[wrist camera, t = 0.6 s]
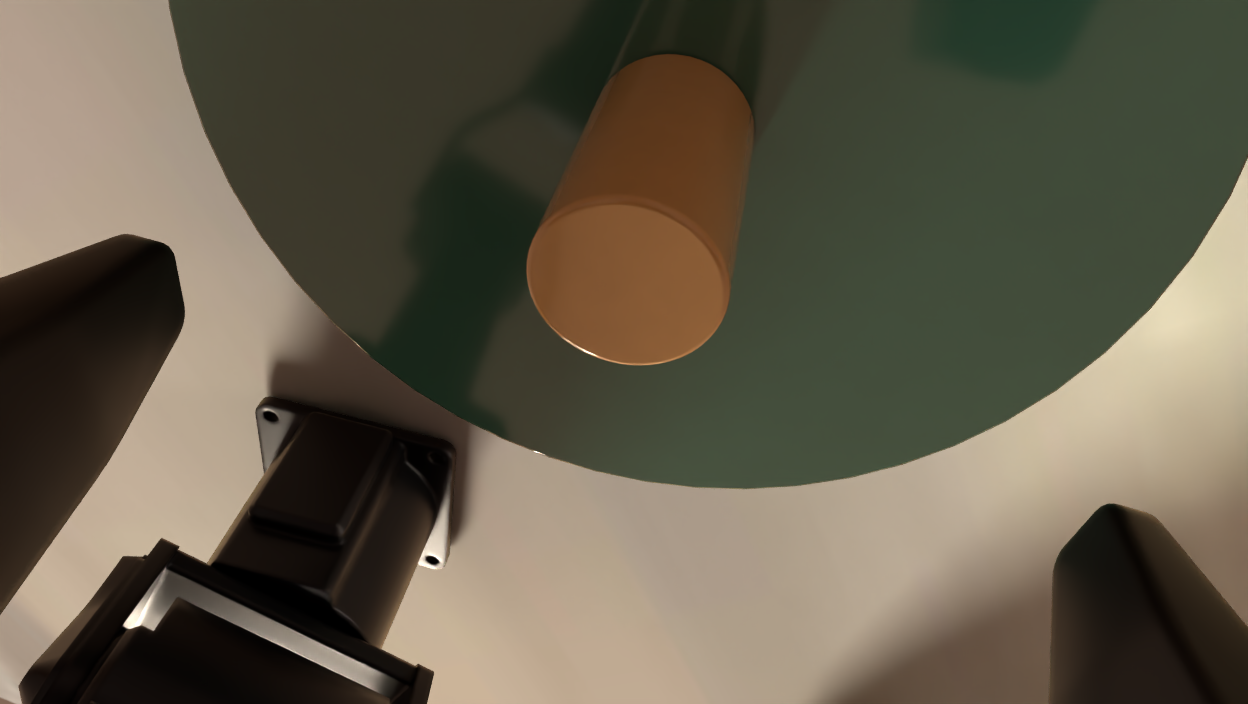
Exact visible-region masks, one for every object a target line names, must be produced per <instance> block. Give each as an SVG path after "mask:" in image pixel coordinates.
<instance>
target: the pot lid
mask: <svg viewBox="0 0 1248 704" xmlns="http://www.w3.org/2000/svg"><path fill="white" fill-rule="evenodd" d="M168 1H169V9H170V14H171V18H172V22H173V27H174V31H175V36H176V40H177V45H178V49H179V54H180V58H181V63H182V67H183V71H184V75H185V78H186V80H187V83H188V86H189V89H190V92H191V95H192V98H193V101H194V103H195V106H196V109H197V112H198V115H199V118H200V121H201V124H202V126H203V129H204V132H205V134H206V136H207V138H208V141H209V143H210V145H211V147H212V149H213V151H214V153H215V155H216V157H217V160H218V162H219V164H220V166H221V168H222V170H223V172H224V174H225V176H226V178H227V181H228V183H229V185H230V187H231V188H232V190H233V192H234V193H235V195H236V197H237V198H238V200H239V202H240V203H241V205H242V207H243V208H244V210H245V211H246V213H247V215H248V216H249V218H250V220H251V221H252V223H253V225H254V226H255V228H256V230H257V231H258V233H259V235H260V236H261V238H262V239H263V240H264V242H265V243H266V244H267V245H268V247H269V248H270V249H271V251H272V252H273V253H274V255H275V256H276V257H277V259H278V260H279V261H280V263H281V264H282V265H283V267H284V268H285V269H286V271H287V272H288V273H289V275H290V276H291V277H292V279H293V280H294V281H295V282H296V283H297V285H298V286H299V287H300V288H301V289H302V290H303V291H304V292H305V293H306V294H307V295H308V297H309V298H310V299H311V300H312V301H313V302H314V303H315V304H316V305H317V306H318V307H319V309H320V310H321V311H322V312H323V313H324V314H325V315H326V316H327V317H328V318H329V319H330V321H331V322H332V323H334V324H335V325H336V326H337V327H338V328H339V329H340V330H341V331H342V332H344V333H345V334H346V335H347V336H348V337H349V338H350V339H351V340H352V341H353V342H355V343H356V344H357V345H358V346H359V347H360V348H361V349H362V350H363V351H365V352H366V353H367V354H368V355H369V356H370V357H371V358H373V359H374V360H375V361H377V362H378V363H379V364H381V365H382V366H383V367H385V368H386V369H387V370H389V371H390V372H391V373H393V374H394V375H395V376H397V377H398V378H399V379H401V380H402V381H403V382H405V383H406V384H407V385H409V386H410V387H411V388H413V389H414V390H416V391H417V392H419V393H421V394H422V395H424V396H425V397H427V398H429V399H430V400H432V401H433V402H435V403H437V404H438V405H440V406H442V407H443V408H445V409H446V410H448V411H450V412H451V413H453V414H454V415H456V416H458V417H460V418H462V419H464V420H466V421H468V422H470V423H472V424H474V425H476V426H478V427H480V428H482V429H484V430H486V431H488V432H490V433H492V434H494V435H496V436H498V437H500V438H502V439H504V440H507V441H509V442H512V443H514V444H517V445H519V446H522V447H524V448H527V449H529V450H532V451H534V452H537V453H539V454H542V455H544V456H547V457H550V458H553V459H556V460H560V461H563V462H566V463H570V464H573V465H576V466H580V467H583V468H586V469H590V470H593V471H596V472H601V473H606V474H611V475H616V476H620V477H625V478H630V479H635V480H640V481H644V482H652V483H661V484H669V485H678V486H686V487H695V488H726V489H756V488H772V487H788V486H801V485H807V484H814V483H820V482H827V481H833V480H840V479H846V478H852V477H855V476H859V475H863V474H867V473H871V472H875V471H879V470H883V469H887V468H891V467H895V466H899V465H903V464H906V463H908V462H911V461H914V460H917V459H919V458H922V457H925V456H928V455H931V454H933V453H936V452H939V451H942V450H945V449H947V448H950V447H953V446H955V445H957V444H960V443H962V442H964V441H966V440H968V439H970V438H972V437H974V436H976V435H978V434H981V433H983V432H985V431H987V430H989V429H991V428H993V427H995V426H997V425H999V424H1002V423H1004V422H1006V421H1007V420H1009V419H1011V418H1012V417H1014V416H1016V415H1017V414H1019V413H1020V412H1022V411H1024V410H1025V409H1027V408H1029V407H1030V406H1032V405H1034V404H1035V403H1037V402H1038V401H1040V400H1042V399H1043V398H1045V397H1047V396H1048V395H1050V394H1052V393H1053V392H1055V391H1056V390H1058V389H1059V388H1060V387H1062V386H1063V385H1064V384H1065V383H1067V382H1068V381H1069V380H1071V379H1072V378H1073V377H1074V376H1076V375H1077V374H1078V373H1080V372H1081V371H1082V370H1084V369H1085V368H1086V367H1087V366H1089V365H1090V364H1091V363H1093V362H1094V361H1095V360H1097V359H1098V358H1099V357H1100V356H1102V355H1103V354H1104V353H1105V352H1106V351H1107V350H1108V349H1110V348H1111V347H1112V346H1113V345H1114V344H1115V343H1116V342H1117V341H1118V340H1119V339H1120V338H1121V337H1122V336H1123V335H1124V334H1125V333H1126V332H1127V331H1128V330H1129V329H1130V328H1131V327H1132V326H1133V325H1134V324H1135V323H1136V322H1137V321H1138V320H1139V319H1140V318H1141V317H1142V316H1144V315H1145V314H1146V313H1147V312H1148V311H1149V310H1150V309H1151V308H1152V306H1153V305H1154V304H1155V303H1156V301H1157V300H1158V299H1159V298H1160V296H1161V295H1162V294H1163V293H1164V292H1165V290H1166V289H1167V288H1168V287H1169V285H1170V284H1171V283H1172V282H1173V280H1174V279H1175V278H1176V277H1177V275H1178V274H1179V273H1180V272H1181V271H1182V269H1183V268H1184V267H1185V266H1186V264H1187V263H1188V262H1189V261H1190V259H1191V258H1192V257H1193V256H1194V254H1195V252H1196V251H1197V249H1198V248H1199V246H1200V244H1201V243H1202V241H1203V240H1204V238H1205V236H1206V235H1207V233H1208V231H1209V230H1210V228H1211V227H1212V225H1213V223H1214V222H1215V220H1216V219H1217V217H1218V215H1219V214H1220V212H1221V211H1222V209H1223V207H1224V206H1225V204H1226V203H1227V201H1228V199H1229V198H1230V196H1231V194H1232V192H1233V189H1234V187H1235V185H1236V183H1237V181H1238V178H1239V176H1240V174H1241V172H1242V170H1243V167H1244V165H1245V163H1246V161H1247V159H1248V0H168Z"/></svg>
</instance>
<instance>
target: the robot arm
mask: <svg viewBox="0 0 1248 704" xmlns="http://www.w3.org/2000/svg"><path fill="white" fill-rule="evenodd" d="M184 317H185V307H184V302H183V296H182V291H181V286H180V281H179V276H178V271H177V266H176V260H175V256H174V253H173V252H172V250H171V249H170V248H169V246H167V245H165V244H164V243H161V242H158V241H154V240H150V239H147V238H143V237H139V236H136V235H130V234H123V235H119V236H115V237H112V238H109V239H107V240H104V241H101V242H98V243H96V244H93V245H90V246H87V247H85V248H82V249H79V250H76V251H74V252H71V253H68V254H65V255H63V256H60V257H57V258H54V259H52V260H49V261H46V262H43V263H41V264H38V265H35V266H32V267H30V268H27V269H24V270H21V271H19V272H16V273H13V274H10V275H8V276H5V277H2V278H0V614H1V613H2V612H3V610H4V609H5V607H6V606H7V605H8V603H9V602H10V600H11V599H12V598H13V596H14V595H15V593H16V592H17V591H18V589H19V588H20V586H21V585H22V584H23V582H24V581H25V579H26V578H27V577H28V575H29V574H30V572H31V571H32V569H33V568H34V567H35V565H36V564H37V562H38V561H39V560H40V558H41V557H42V555H43V554H44V553H45V551H46V550H47V548H48V547H49V546H50V544H51V543H52V541H53V540H54V539H55V537H56V536H57V534H58V533H59V532H60V530H61V529H62V527H63V526H64V524H65V523H66V522H67V520H68V519H69V517H70V516H71V515H72V513H73V512H74V510H75V509H76V508H77V506H78V505H79V503H80V502H81V501H82V499H83V498H84V496H85V495H86V494H87V492H88V491H89V489H90V488H91V487H92V485H93V484H94V482H95V481H96V479H97V478H98V476H99V475H100V473H101V472H102V470H103V469H104V467H105V466H106V465H107V463H108V462H109V460H110V458H111V457H112V455H113V453H114V451H115V450H116V448H117V446H118V445H119V443H120V441H121V440H122V438H123V436H124V434H125V432H126V431H127V429H128V427H129V425H130V423H131V421H132V420H133V418H134V416H135V414H136V412H137V411H138V409H139V407H140V405H141V403H142V401H143V400H144V398H145V396H146V394H147V392H148V391H149V389H150V387H151V385H152V383H153V381H154V380H155V378H156V376H157V374H158V372H159V371H160V369H161V367H162V365H163V363H164V361H165V360H166V358H167V356H168V354H169V352H170V351H171V349H172V347H173V345H174V343H175V341H176V340H177V338H178V336H179V334H180V332H181V329H182V326H183V323H184ZM256 420H257V427H258V434H259V441H260V448H261V455H262V462H263V469H264V475H263V477H262V478H261V480H260V482H259V483H258V485H257V486H256V488H255V489H254V491H253V492H252V494H251V496H250V497H249V499H248V500H247V502H246V503H245V505H244V506H243V508H242V510H241V511H240V513H239V514H238V516H237V517H236V519H235V520H234V522H233V524H232V525H231V527H230V528H229V530H228V531H227V533H226V534H225V536H224V538H223V539H222V541H221V542H220V544H219V545H218V547H217V548H216V550H215V552H214V553H213V555H212V556H211V558H210V559H209V561H208V562H207V564H206V563H204V562H202V561H200V560H198V559H196V558H194V557H192V556H190V555H188V554H186V553H184V552H182V551H180V550H178V549H179V546H177V545H175V544H173V543H171V542H169V541H167V540H165V539H163V538H161V539H160V540H159V542H158V543H157V544H156V546H155V547H154V548H153V550H152V551H151V552H150V554H149V555H148V556H147V555H144V556H143V557H133V556H123V557H122V558H121V560H120V561H119V563H118V564H117V565H116V567H115V568H114V569H113V571H112V572H111V573H110V575H109V576H108V578H107V579H106V580H105V582H104V583H103V584H102V586H101V587H100V588H99V590H98V591H97V592H96V594H95V595H94V596H93V598H92V599H91V600H90V602H89V603H88V604H87V605H86V607H85V608H84V609H83V610H82V611H81V612H80V614H79V615H78V616H77V617H76V618H75V619H74V620H73V621H72V622H71V623H70V625H69V626H68V627H67V628H66V629H65V630H64V631H63V632H62V633H61V634H60V636H59V637H58V638H57V639H56V640H55V641H54V642H53V643H52V644H51V646H50V647H49V648H48V649H47V650H46V651H45V652H44V653H43V654H42V655H41V657H40V658H39V659H38V660H37V661H36V662H35V663H34V664H33V666H32V667H31V668H30V669H29V671H28V672H27V674H26V675H25V676H24V678H23V679H22V681H21V683H20V685H19V691H20V696H21V701H22V704H427V701H428V697H429V692H430V688H431V684H432V680H433V676H434V671H432V670H429V669H427V668H425V667H423V666H421V665H419V664H417V665H416V666H414V665H412V664H410V663H408V662H406V661H404V660H402V659H400V658H398V657H396V656H394V655H392V654H390V653H388V652H386V651H384V650H382V649H381V648H382V646H383V643H384V641H385V639H386V637H387V634H388V632H389V630H390V627H391V625H392V623H393V620H394V618H395V616H396V613H397V611H398V609H399V606H400V604H401V602H402V599H403V597H404V595H405V592H406V590H407V588H408V585H409V583H410V581H411V578H412V576H413V574H414V571H415V569H416V567H417V565H421V566H425V567H429V568H433V569H441V568H443V567H445V564H446V562H447V559H448V557H449V553H450V538H451V524H452V509H453V494H454V480H455V465H456V450H455V448H454V447H453V445H451V444H450V443H449V442H447V441H445V440H442V439H438V438H435V437H431V436H427V435H423V434H419V433H415V432H411V431H407V430H403V429H399V428H395V427H391V426H387V425H383V424H379V423H375V422H371V421H367V420H363V419H359V418H356V417H352V416H348V415H344V414H340V413H336V412H332V411H328V410H324V409H320V408H316V407H312V406H308V405H304V404H300V403H296V402H292V401H288V400H284V399H281V398H277V397H265V398H264V399H263V400H262V401H261V402H260V404H259V405H258V407H257V408H256ZM437 453H438V454H437ZM439 454H440V455H439ZM1049 704H1248V627H1247V625H1246V624H1245V623H1244V622H1243V621H1242V619H1241V618H1240V617H1239V616H1238V615H1237V613H1236V612H1235V611H1234V610H1233V609H1232V607H1231V606H1230V605H1229V604H1228V603H1227V601H1226V600H1225V599H1224V598H1223V597H1222V595H1221V594H1220V593H1219V592H1218V591H1217V589H1216V588H1215V587H1214V586H1213V585H1212V583H1211V582H1210V581H1209V580H1208V579H1207V577H1206V576H1205V575H1204V574H1203V573H1202V571H1201V570H1200V569H1199V568H1198V567H1197V565H1196V564H1195V563H1194V562H1193V561H1192V559H1191V558H1190V557H1189V556H1188V555H1187V553H1186V552H1185V551H1184V550H1183V549H1182V547H1181V546H1180V545H1179V544H1178V543H1177V541H1176V540H1175V539H1174V538H1173V537H1172V535H1171V534H1170V533H1169V532H1168V531H1167V529H1166V528H1165V527H1164V526H1163V525H1162V523H1161V522H1160V521H1159V520H1158V519H1157V518H1156V517H1154V516H1153V515H1151V514H1149V513H1147V512H1143V511H1140V510H1136V509H1132V508H1129V507H1125V506H1122V505H1118V504H1106V505H1104V506H1101V507H1100V508H1099V509H1097V510H1096V511H1095V512H1094V514H1093V515H1092V516H1091V517H1090V518H1089V519H1088V520H1087V521H1086V523H1085V524H1084V525H1083V526H1082V527H1081V528H1080V529H1079V530H1078V532H1077V533H1076V534H1075V535H1074V536H1073V537H1072V538H1071V539H1070V541H1069V542H1068V543H1067V544H1066V545H1065V546H1064V547H1063V549H1062V550H1061V551H1060V553H1059V555H1058V557H1057V559H1056V562H1055V565H1054V570H1053V582H1052V614H1051V646H1050V678H1049Z"/></svg>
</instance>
